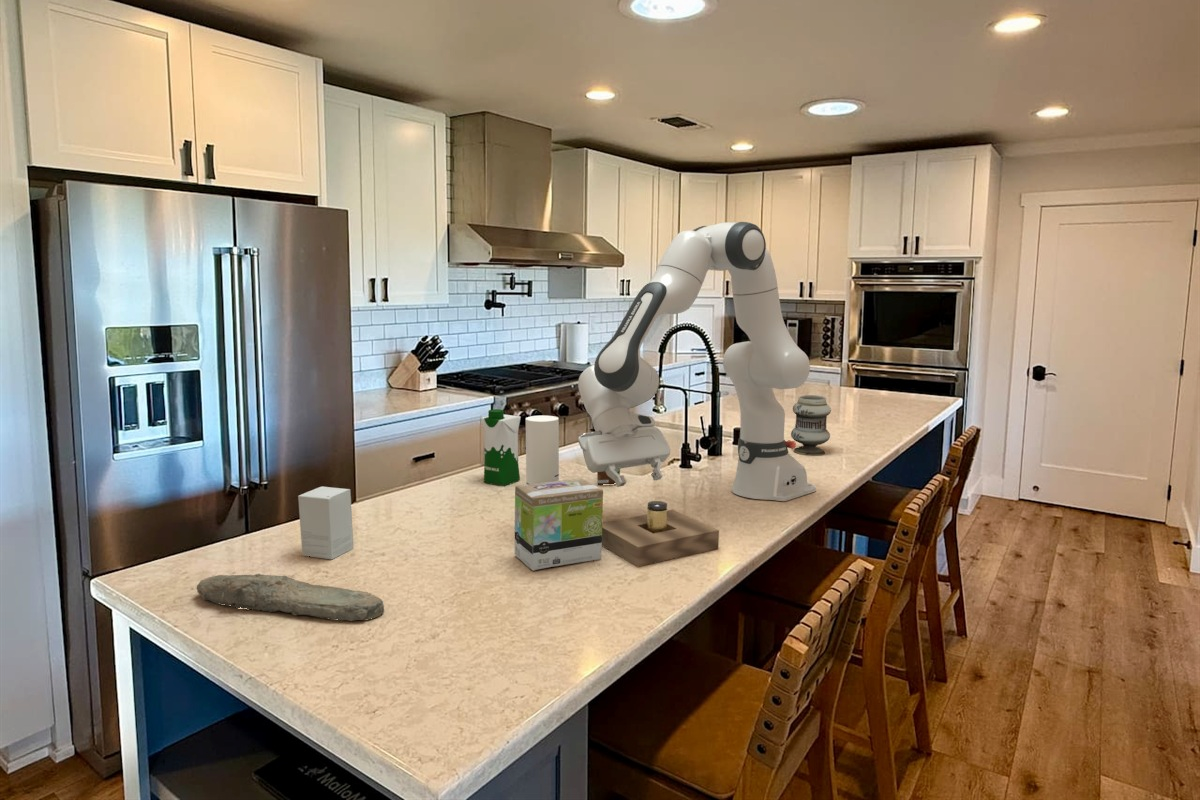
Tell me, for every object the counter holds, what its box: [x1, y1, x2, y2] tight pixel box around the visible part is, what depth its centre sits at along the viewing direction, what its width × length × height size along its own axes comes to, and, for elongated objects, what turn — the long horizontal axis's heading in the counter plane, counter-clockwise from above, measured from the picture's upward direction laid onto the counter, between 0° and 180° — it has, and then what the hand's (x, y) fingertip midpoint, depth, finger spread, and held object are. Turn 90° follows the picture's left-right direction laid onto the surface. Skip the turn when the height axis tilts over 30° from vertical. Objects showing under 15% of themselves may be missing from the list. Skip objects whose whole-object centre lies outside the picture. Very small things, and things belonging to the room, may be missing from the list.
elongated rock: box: [196, 573, 385, 622], centre depth 129 cm, size 35×5×10 cm
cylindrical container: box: [525, 415, 560, 485], centre depth 166 cm, size 7×7×25 cm
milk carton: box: [480, 408, 521, 487], centre depth 205 cm, size 9×9×20 cm
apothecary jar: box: [790, 394, 832, 457], centre depth 242 cm, size 12×12×18 cm
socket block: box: [602, 509, 720, 567], centre depth 158 cm, size 20×16×4 cm
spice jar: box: [647, 500, 668, 533], centre depth 158 cm, size 4×4×9 cm
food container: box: [596, 469, 621, 486], centre depth 207 cm, size 12×6×10 cm, turn 168°
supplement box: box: [297, 486, 355, 560], centre depth 153 cm, size 7×7×13 cm
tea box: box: [514, 477, 604, 572], centre depth 150 cm, size 15×10×15 cm, turn 117°
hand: (640, 481), depth 162 cm, fingers open, 8 cm apart
